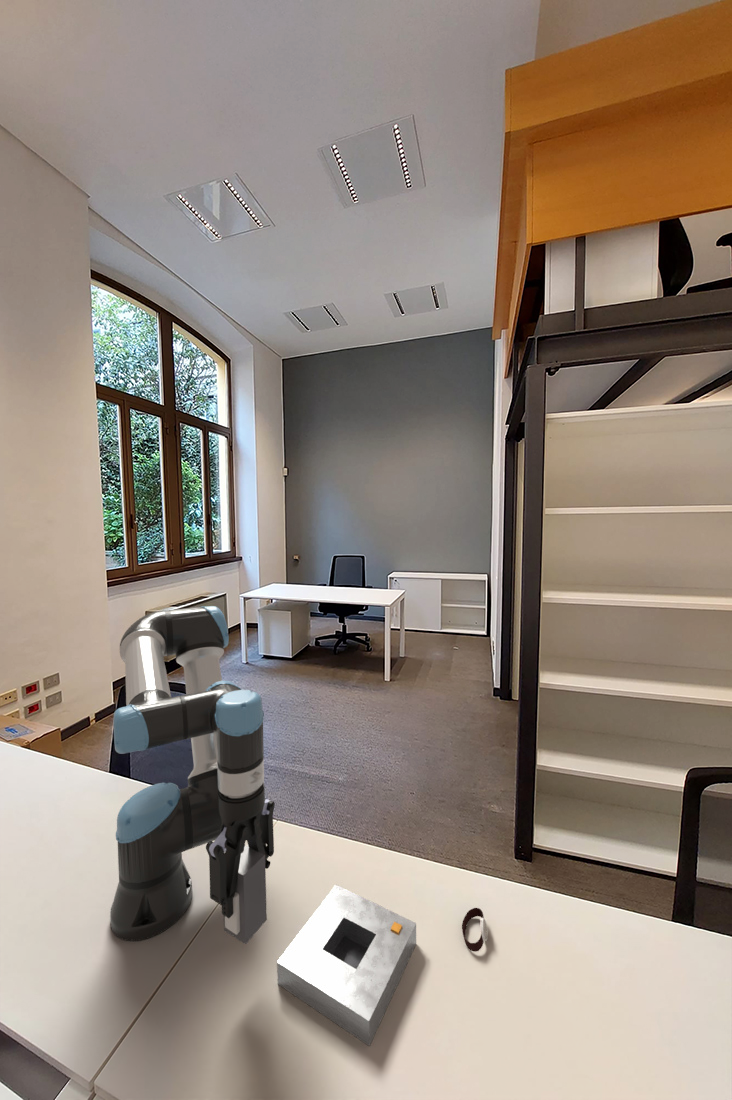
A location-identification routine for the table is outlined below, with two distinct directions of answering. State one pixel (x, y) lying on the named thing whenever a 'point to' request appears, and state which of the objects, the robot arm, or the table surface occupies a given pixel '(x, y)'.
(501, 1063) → the table surface
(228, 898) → the robot arm
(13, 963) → the table surface
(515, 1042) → the table surface
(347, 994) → the socket
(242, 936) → the plug
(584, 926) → the table surface
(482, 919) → the watch
